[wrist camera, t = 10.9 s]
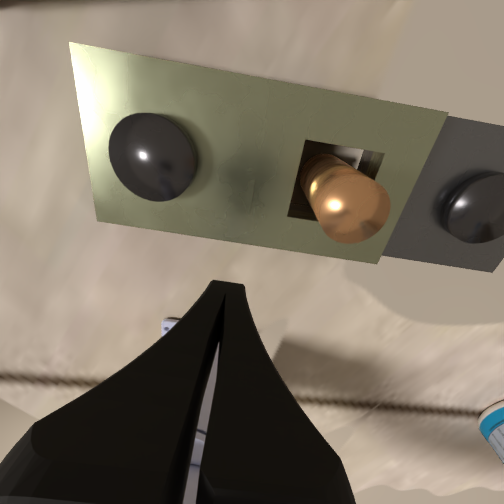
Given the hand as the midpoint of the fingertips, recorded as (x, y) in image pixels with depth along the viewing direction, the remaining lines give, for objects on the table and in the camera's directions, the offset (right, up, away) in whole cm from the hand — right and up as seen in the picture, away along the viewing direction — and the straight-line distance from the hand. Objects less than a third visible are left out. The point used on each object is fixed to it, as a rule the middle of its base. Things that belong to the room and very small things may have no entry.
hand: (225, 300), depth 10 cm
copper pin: (+6, +7, +7) cm, 11 cm away
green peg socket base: (+6, +7, +7) cm, 11 cm away
